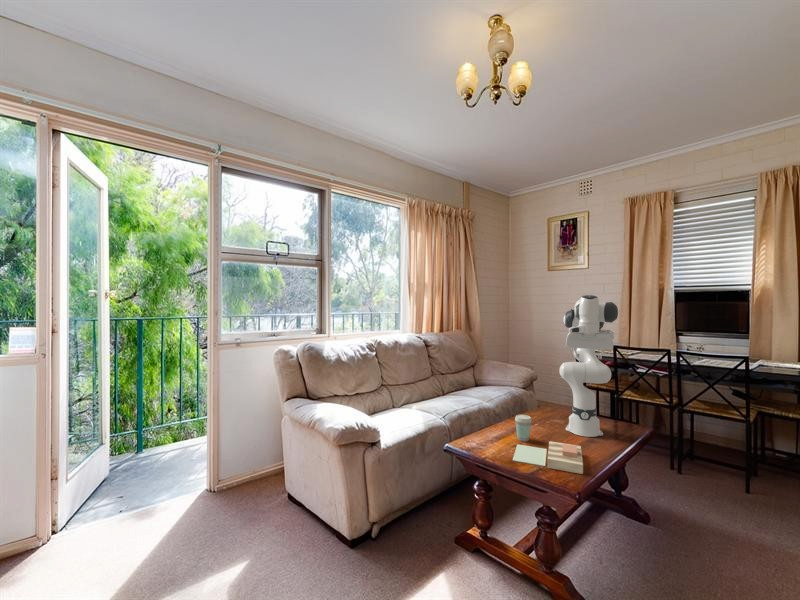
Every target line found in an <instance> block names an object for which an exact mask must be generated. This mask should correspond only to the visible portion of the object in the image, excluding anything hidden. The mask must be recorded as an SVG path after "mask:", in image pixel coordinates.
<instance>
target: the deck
mask: <svg viewBox="0 0 800 600" xmlns="http://www.w3.org/2000/svg"><path fill="white" fill-rule="evenodd" d="M563 444H565V443H563V442H556V441H548V449H547V452H548V453H547V468H548V469H553V470H559V471H562V472H563V471H565V472H569V473H575V474H579V475H583V474H584V463H583V461H584V460H583V455H582V446H581V445H578V444H571V443H566V444H567V445H573V446H577V458H575V457H569V456H563Z"/></svg>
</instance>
